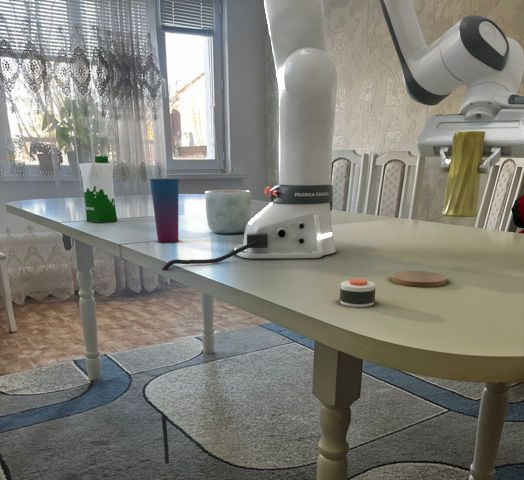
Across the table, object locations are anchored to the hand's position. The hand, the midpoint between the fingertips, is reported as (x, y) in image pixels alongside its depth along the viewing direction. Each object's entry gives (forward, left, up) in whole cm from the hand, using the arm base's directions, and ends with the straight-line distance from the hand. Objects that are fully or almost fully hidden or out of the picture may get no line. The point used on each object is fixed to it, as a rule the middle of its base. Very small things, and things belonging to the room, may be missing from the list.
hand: (464, 170), depth 96 cm
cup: (-52, +46, -18) cm, 71 cm away
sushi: (-26, -20, -17) cm, 38 cm away
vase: (0, +1, -8) cm, 8 cm away
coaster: (-11, -9, -17) cm, 23 cm away
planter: (-35, +59, -18) cm, 71 cm away
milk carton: (-72, +95, -18) cm, 120 cm away
